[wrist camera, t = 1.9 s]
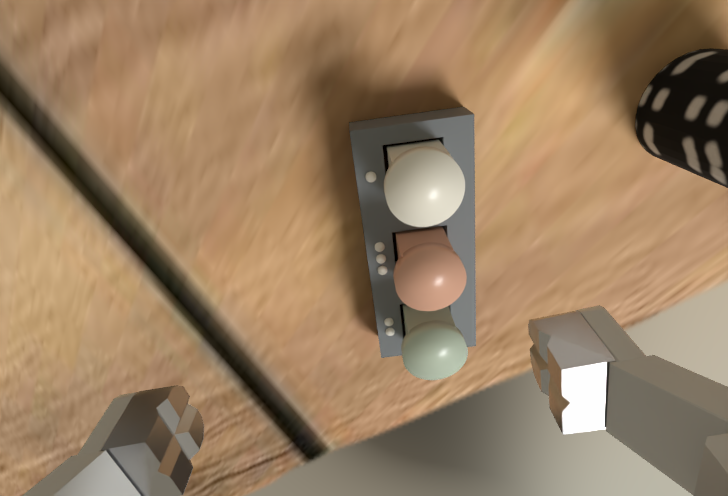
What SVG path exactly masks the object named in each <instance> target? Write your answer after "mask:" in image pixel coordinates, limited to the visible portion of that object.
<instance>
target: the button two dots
mask: <svg viewBox="0 0 728 496" xmlns="http://www.w3.org/2000/svg"><path fill="white" fill-rule="evenodd" d="M403 314H404V324H405V333H406V335H405V337H404V339H403V341H402V345H401V351H402V357H403V362H404V365H405V367H406V369H407V370H408V371H409V372H410V373H411V374H412V375H414V376H416V377H418V378H421V379H425V380H438V379H443V378H446V377H449V376H451V375H453V374H454V373H456V372H457V371H458V370H459V369H460V368H461V367H462V366H463V365H464V363H465V362H466V359H467V355H468V349H467V345H466V343H465V340H464V337H463V335H462V333H461V331H460V330H459V329H458V328H457V327H456V326H455V323H454V321H453V318H452V315H451V312H450V310H449V307H448V306H447V307H445V308H442V309H439V310H435V311H419V310H416V309H413V308H411V307H409V306H407V305H406V304H403Z"/></svg>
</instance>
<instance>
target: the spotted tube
mask: <svg viewBox="0 0 728 496" xmlns="http://www.w3.org/2000/svg"><path fill="white" fill-rule="evenodd" d="M636 132H637V137H638V139H639V141H640V143H641V145H642V146H643V147H644V149H645V150H646V151H647V152H649V153H650V154H651V155H653V156H655V157H657V158H660V159H662V160H664V161H667V162H669V163H671V164H674V165H676V166H678V167H680V168H683V169H685V170H687V171H690V172H692V173H694V174H697V175H699V176H701V177H704V178H706V179H708V180H711V181H713V182H715V183H718V184H720V185H722V186H725V187H727V188H728V50H724V49H700V50H697V51H693V52H690V53H687V54H685V55H683V56H681V57H679V58H677V59H675V60H674V61H673V62H671V63H670V64H668V65H667V66H666V67H665V68H663V69H662V70H661V71H660V72H659V73H658V74H657V75H656V76H655V78H654V79H653V80H652V81H651V83H650V84H649V85H648V87H647V89H646V90H645V92H644V94H643V95H642V98H641V100H640V103H639V105H638V109H637V114H636Z"/></svg>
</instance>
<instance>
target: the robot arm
mask: <svg viewBox="0 0 728 496" xmlns="http://www.w3.org/2000/svg"><path fill="white" fill-rule="evenodd" d="M528 328H529V335H530V337H531V339H532V341H533V343H534V344H533V346H532V347H531V348H530V357H531V364H532V368H533V372H534V375H535V378H536V380H537V383H538V385H539V387H540V389H541V391H542V392H543V393H545V394H546V395H548V396H549V404H550V410H551V412H552V414H553V416H554V418H555V420H556V422H557V424H558V426H559V428H560V430H561V432H562V434H570V433H578V432H585V431H592V430H601V429H606V431H607V432H608V433H610V434H611V435H612V436H614V437H615V438H616V439H618V440H619V441H620V442H622V443H623V444H624V445H626V446H627V447H629V448H630V449H631V450H633V451H634V452H635V453H637V454H638V455H639V456H641V457H642V458H643V459H645V460H646V461H648V462H649V463H650V464H652V465H653V466H654V467H656V468H657V469H658V470H660V471H661V472H662V473H664V474H665V475H667V476H668V477H669V478H671V479H672V480H673V481H675V482H676V483H677V484H679V485H680V486H682V487H683V488H685V489H686V490H687V491H688V492H690V493H691V494H692V495H694V496H728V387H727V386H724V385H722V384H720V383H717V382H715V381H713V380H710V379H708V378H706V377H703V376H701V375H699V374H697V373H694V372H692V371H689V370H687V369H685V368H683V367H680V366H678V365H676V364H673V363H671V362H669V361H667V360H664V359H662V358H659V357H657V356H655V355H652V356H646V355H645V354H644V353H643V352H642V351H641V350H640V349H639V347H638V346H637V345H636V344H635V343H634V341H633V340H632V339H631V338H630V337H629V336H628V334H627V333H626V332H625V331H624V330H623V329H622V328H621V326H620V325H619V324H618V323H617V322H616V321H615V319H614V318H613V317H612V316H611V315H610V314H609V312H608V311H607V310H606V309H605V308H604V307H602V306H600V305H599V306H594V307H590V308H585V309H580V310H576V311H572V312H567V313H562V314H557V315H551V316H546V317H541V318H536V319H531V320H529V324H528ZM189 397H190V396H189V394H188V393H187V391H186V390H185V388H184V387H183V386H178V385H176V386H170V387H164V388H158V389H152V390H145V391H139V392H136V393H129V394H123V395H119V396H118V397H116V398H115V399H113V401H112V402H111V404H110V405H109V407H108V409H107V410H106V412H105V413H104V415H103V416H102V418H101V419H100V421H99V422H98V424H97V426H96V427H95V429H94V430H93V432H92V433H91V435H90V436H89V438H88V439H87V441H86V443H85V444H84V446H83V447H82V449H81V450H80V452H79V453H78V455H76V456H71V457H70V458H68V459H67V460H66V461H65V462H63V463H62V464H61V465H60V466H58V467H57V468H56V469H55V470H54V471H52V472H51V473H50V474H49V475H47V476H46V477H45V478H44V479H42V480H41V481H40V482H39V483H37V484H36V485H35V486H34V487H32V488H31V489H30V490H29V491H28V492H26V493H25V494H24V495H23V496H181V495H183V494H184V491H185V488H186V485H187V483H188V480H189V477H190V475H191V472H192V469H193V466H192V463H191V461H190V459H191V458H192V457H193V456H194V455H195V454H196V453H197V452H198V451H199V450H200V447H201V444H202V441H203V437H204V424H203V420H202V416H201V414H200V413H199V411H198V409H196V408H195V407H193V406H191V405H189V404H188V401H189Z"/></svg>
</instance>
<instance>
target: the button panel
mask: <svg viewBox="0 0 728 496" xmlns="http://www.w3.org/2000/svg"><path fill="white" fill-rule="evenodd" d="M349 131H350V138H351V145H352V153H353V160H354V167H355V174H356V181H357V188H358V195H359V202H360V209H361V216H362V223H363V230H364V238H365V245H366V252H367V259H368V266H369V273H370V280H371V287H372V294H373V301H374V308H375V315H376V323H377V330H378V337H379V344H380V351H381V358H384V357H392V356H399V355H402V351H401V345H402V341H403V339H404V337H405V335H406V333H405V324H404V323H402V322H401V313H400V305H401V304H405V303H403V302H402V301H401V299H400V298H399V296H398V294H397V292H396V288H395V283H394V277H393V273H394V268H395V265H396V262H397V261H396V262H395V257H394V248H393V239H392V232H400V231H407V230H415V229H422V228H430V227H438V226H441V227H443V229H444V231H445V233H446V235H447V237H448V239H449V242H450V244H451V246H452V248H453V250H454V251H455V252H456V253H457V254H458V256H459V257H460V259H461V261H462V263H463V265H464V268H465V270H466V276H467V280H466V285H465V288H464V290H463V292H462V294H461V295H460V297H459V298H458V299H457V300H456V301H455V302H453V303H452V304H450V305H449V306H448V307H449V310H450V312H451V315H452V318H453V321H454V323H455V326H456V327H457V328H458V329H459V330H460V331H461V333H462V335H463V337H464V340H465V343H466V345H467V347H471V346H476V294H475V162H474V114H473V113H472V112H470V111H469V110H468V109H466V108H465V107H458V108H450V109H443V110H436V111H429V112H422V113H414V114H407V115H400V116H393V117H385V118H378V119H371V120H364V121H356V122H349ZM432 138H436V140H438V139H439V141H440V142H441V143H442V144H443V146H444V147H445V148H446V149H447V151H448V152H449V153H450V156H451V157H452V158H453V159H454V161H455V162H456V163H457V164H458V166H459V167H460V169H461V170H462V173H463V175H464V179H465V193H464V197H463V200H462V202H461V204H460V206H459V207H458V209H457V210H456V211H455V213H454V214H453V215H452V216H451V217H449V218H448V219H447V220H445V221H443V222H441V223H439V224H437V225H434V226H429V227H415V226H411V225H408V224H406V223H403V222H402V221H400V220H399V219H398V218H396V217H395V216H394V214H393V213H392V212H391V210H390V209H389V207H388V204H387V201H386V197H385V193H384V179H385V175H386V174H385V164H384V155H383V146H382V145H388V144H395V143H403V142H410V141H417V140H424V139H432Z"/></svg>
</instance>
